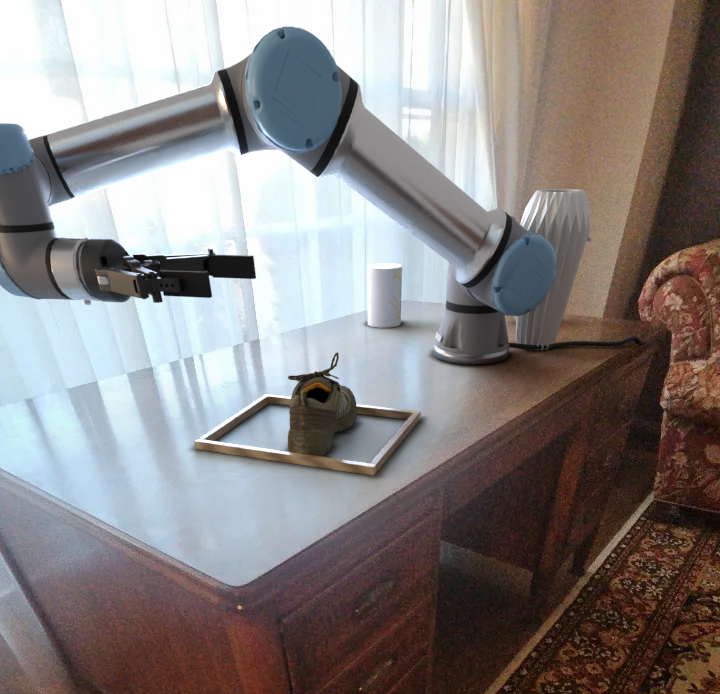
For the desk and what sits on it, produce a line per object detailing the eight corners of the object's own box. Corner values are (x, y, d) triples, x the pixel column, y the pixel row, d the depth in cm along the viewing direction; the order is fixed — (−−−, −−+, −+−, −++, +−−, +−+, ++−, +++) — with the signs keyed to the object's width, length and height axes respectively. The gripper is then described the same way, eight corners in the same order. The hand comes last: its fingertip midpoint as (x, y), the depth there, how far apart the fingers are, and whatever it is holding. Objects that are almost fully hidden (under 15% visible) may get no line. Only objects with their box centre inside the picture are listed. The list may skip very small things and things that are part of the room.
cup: (398, 328, 137) (399, 269, 129) (364, 327, 138) (364, 268, 130) (402, 320, 143) (404, 263, 135) (371, 319, 144) (370, 262, 136)
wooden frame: (420, 418, 92) (421, 411, 91) (373, 475, 76) (373, 467, 76) (266, 400, 100) (265, 393, 99) (195, 449, 84) (194, 441, 83)
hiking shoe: (363, 413, 94) (361, 332, 86) (329, 463, 80) (323, 371, 72) (313, 409, 96) (308, 330, 88) (271, 458, 81) (260, 368, 73)
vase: (577, 351, 119) (612, 191, 102) (517, 356, 117) (542, 193, 100) (549, 335, 129) (576, 187, 112) (493, 340, 127) (512, 189, 110)
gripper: (150, 285, 92) (272, 290, 88) (46, 320, 74) (192, 329, 70) (138, 228, 87) (266, 230, 83) (23, 251, 69) (179, 255, 65)
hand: (233, 275), depth 76 cm, fingers open, 13 cm apart
